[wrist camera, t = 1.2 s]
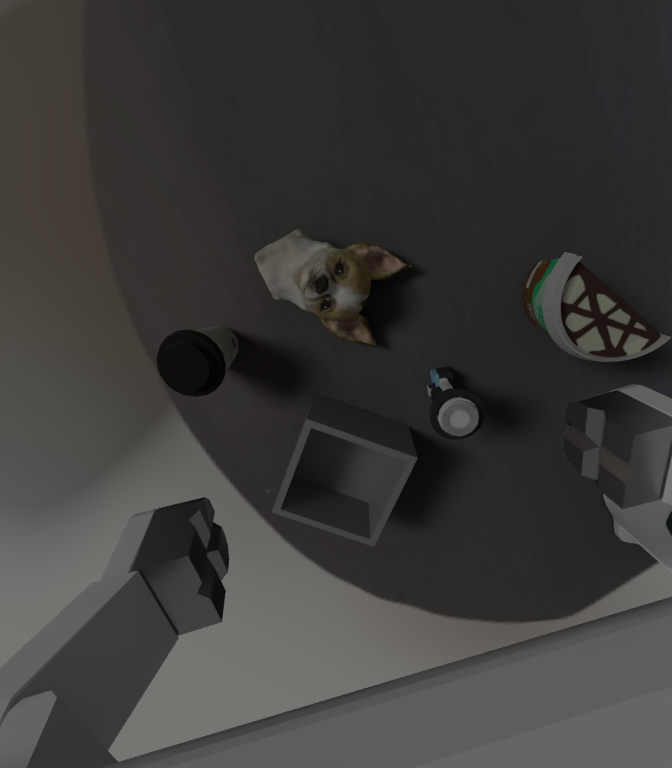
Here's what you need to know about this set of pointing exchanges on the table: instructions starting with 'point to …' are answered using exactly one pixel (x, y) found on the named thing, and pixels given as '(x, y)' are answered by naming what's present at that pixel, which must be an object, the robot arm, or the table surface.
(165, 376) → the coffee cup
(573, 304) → the food container
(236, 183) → the table surface
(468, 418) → the push button
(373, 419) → the bin
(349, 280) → the ceramic sculpture
